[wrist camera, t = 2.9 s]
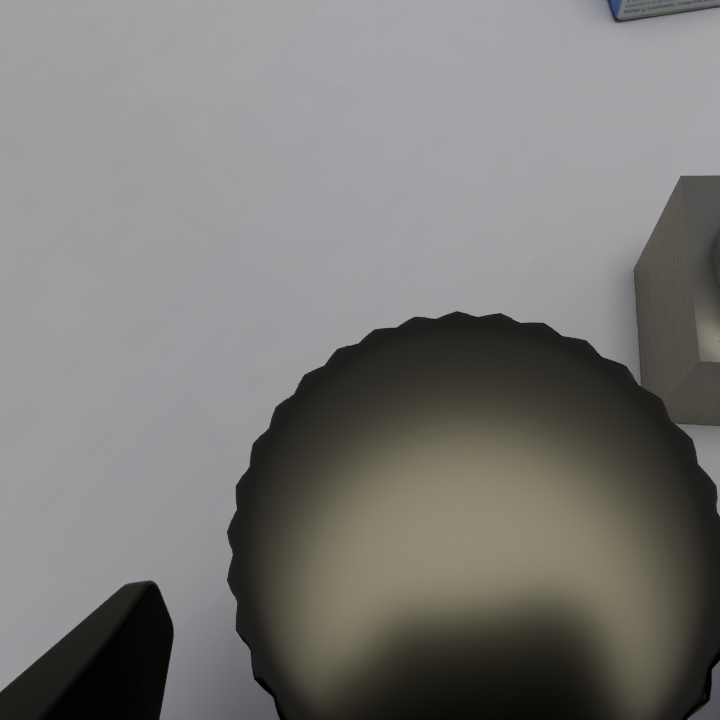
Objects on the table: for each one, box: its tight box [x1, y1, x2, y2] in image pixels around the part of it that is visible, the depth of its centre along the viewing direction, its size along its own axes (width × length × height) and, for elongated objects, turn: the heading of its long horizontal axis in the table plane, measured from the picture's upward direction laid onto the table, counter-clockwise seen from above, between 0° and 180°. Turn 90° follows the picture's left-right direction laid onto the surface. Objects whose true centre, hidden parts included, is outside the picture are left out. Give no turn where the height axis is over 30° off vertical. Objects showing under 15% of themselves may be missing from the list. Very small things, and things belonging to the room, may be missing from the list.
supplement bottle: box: [227, 311, 720, 720], centre depth 11 cm, size 7×7×12 cm
